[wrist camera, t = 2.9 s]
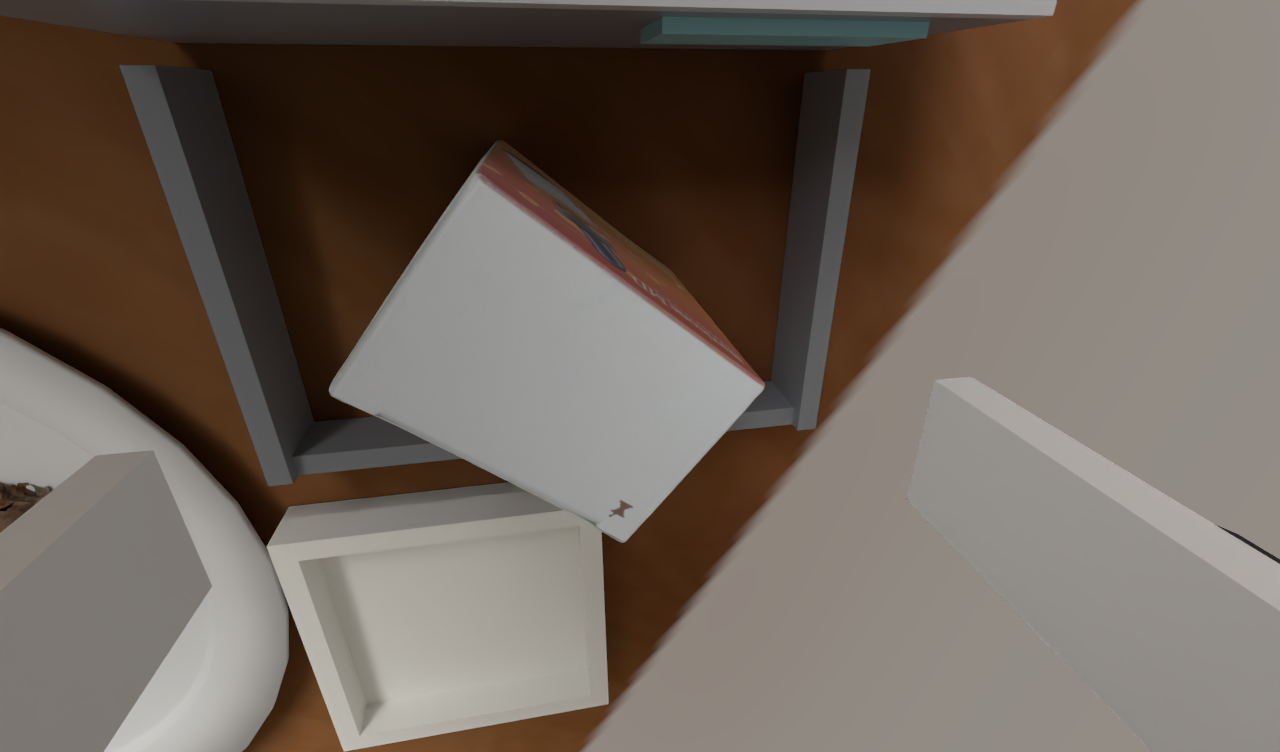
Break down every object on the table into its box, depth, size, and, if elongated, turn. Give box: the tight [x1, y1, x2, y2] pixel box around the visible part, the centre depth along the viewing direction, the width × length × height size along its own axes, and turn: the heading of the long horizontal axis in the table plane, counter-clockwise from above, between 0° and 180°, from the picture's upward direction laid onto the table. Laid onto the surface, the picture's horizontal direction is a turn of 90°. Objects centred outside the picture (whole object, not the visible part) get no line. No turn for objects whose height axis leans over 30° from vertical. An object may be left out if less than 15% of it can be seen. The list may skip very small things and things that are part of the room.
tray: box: [266, 482, 609, 751], centre depth 27 cm, size 13×13×2 cm
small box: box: [329, 140, 765, 543], centre depth 17 cm, size 8×6×10 cm
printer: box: [0, 0, 1057, 486], centre depth 15 cm, size 21×23×10 cm
